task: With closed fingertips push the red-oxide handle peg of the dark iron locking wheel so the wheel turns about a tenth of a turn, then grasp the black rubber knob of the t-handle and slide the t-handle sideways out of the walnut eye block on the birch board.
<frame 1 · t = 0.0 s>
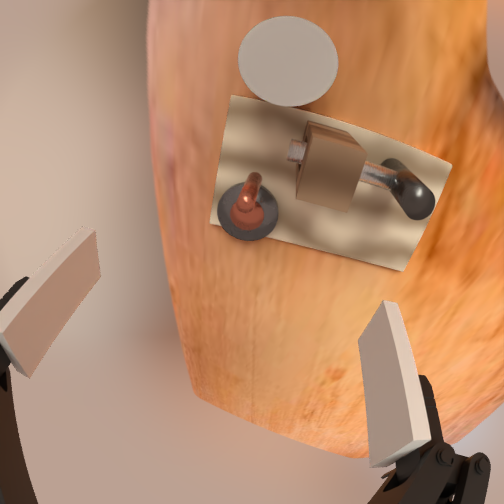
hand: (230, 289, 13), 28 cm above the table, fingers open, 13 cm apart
handwheel: (244, 219, 36), point 6 cm above the table, hinge at 0.0°
beige solid cylinder: (290, 66, 31), on the table
t-handle: (357, 169, 30), point 6 cm above the table, slide at 0.0 cm
eye block: (320, 146, 35), on the table
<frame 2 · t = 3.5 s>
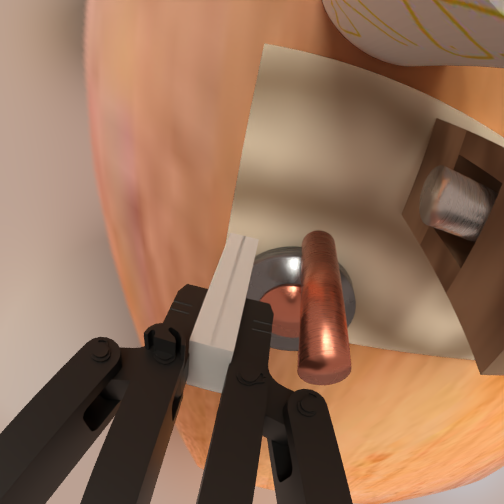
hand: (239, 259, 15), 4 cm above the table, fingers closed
handwheel: (294, 342, 15), point 6 cm above the table, hinge at -0.7°, touching gripper
beige solid cylinder: (393, 0, 10), on the table
eye block: (447, 176, 15), on the table
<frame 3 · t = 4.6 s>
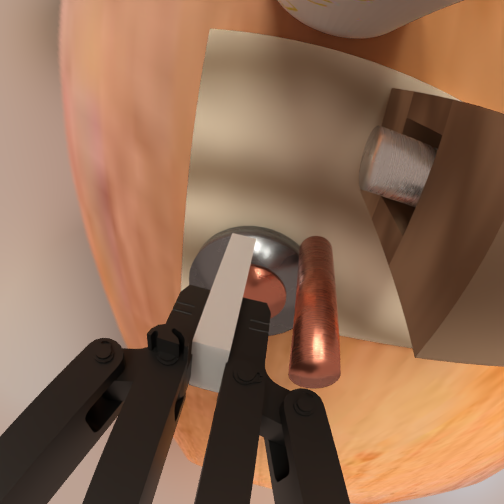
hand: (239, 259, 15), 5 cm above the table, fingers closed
handwheel: (252, 326, 15), point 6 cm above the table, hinge at -35.5°, touching gripper
eye block: (412, 151, 15), on the table
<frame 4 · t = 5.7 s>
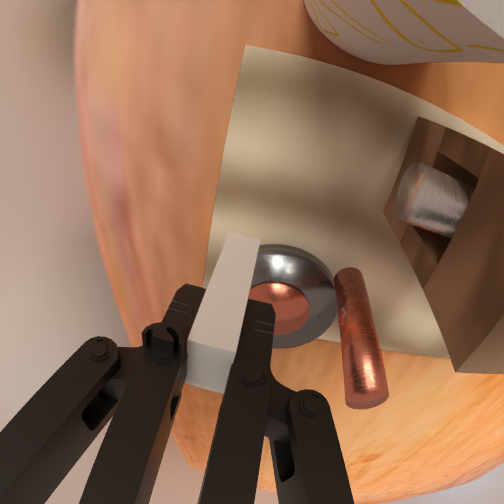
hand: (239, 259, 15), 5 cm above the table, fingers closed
handwheel: (285, 344, 16), point 6 cm above the table, hinge at -46.5°
beige solid cylinder: (376, 0, 11), on the table
eye block: (430, 174, 15), on the table
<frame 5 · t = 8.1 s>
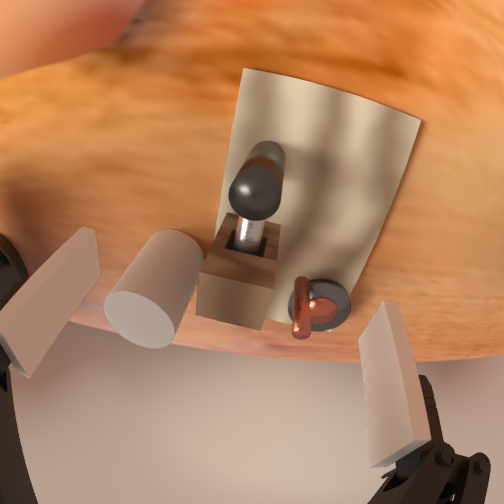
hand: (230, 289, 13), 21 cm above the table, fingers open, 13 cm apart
handwheel: (317, 324, 34), point 6 cm above the table, hinge at -46.5°
beige solid cylinder: (175, 256, 39), on the table
t-handle: (249, 233, 28), point 6 cm above the table, slide at 0.0 cm
eye block: (250, 233, 35), on the table
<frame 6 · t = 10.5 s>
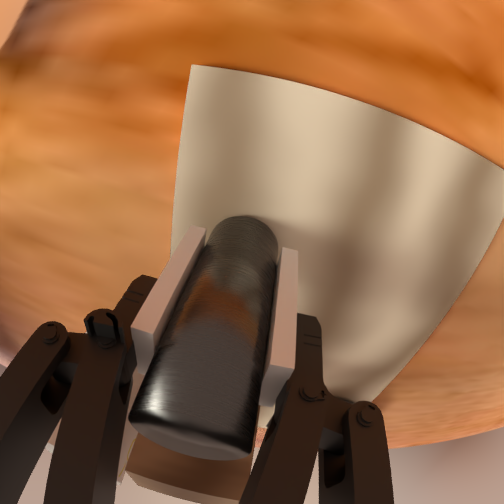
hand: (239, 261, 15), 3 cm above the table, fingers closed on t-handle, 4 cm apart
handwheel: (316, 458, 21), point 6 cm above the table, hinge at -46.5°
beige solid cylinder: (124, 351, 25), on the table
t-handle: (209, 390, 15), point 6 cm above the table, slide at 0.0 cm, touching gripper
eye block: (223, 342, 22), on the table
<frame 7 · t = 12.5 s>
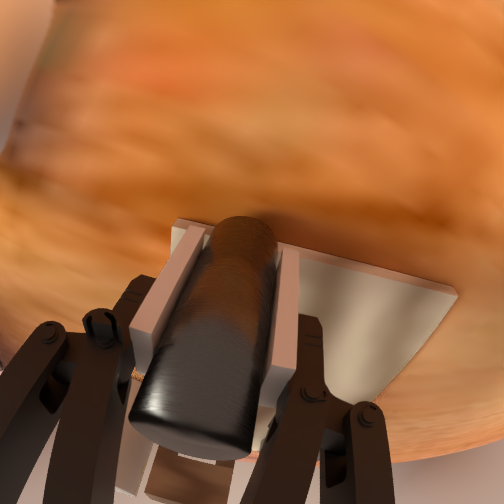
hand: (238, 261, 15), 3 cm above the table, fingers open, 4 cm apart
handwheel: (287, 478, 25), point 6 cm above the table, hinge at -46.5°
beige solid cylinder: (133, 392, 30), on the table
t-handle: (208, 390, 15), point 6 cm above the table, slide at 8.4 cm
eye block: (212, 393, 27), on the table
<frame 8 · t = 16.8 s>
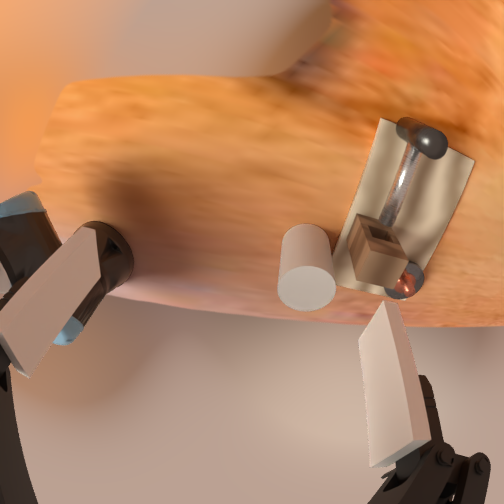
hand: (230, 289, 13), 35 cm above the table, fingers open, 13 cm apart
handwheel: (408, 291, 46), point 6 cm above the table, hinge at -46.5°
beige solid cylinder: (305, 244, 51), on the table
t-handle: (405, 175, 36), point 6 cm above the table, slide at 8.4 cm
eye block: (366, 228, 48), on the table
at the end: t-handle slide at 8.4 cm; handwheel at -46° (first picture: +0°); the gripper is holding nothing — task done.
